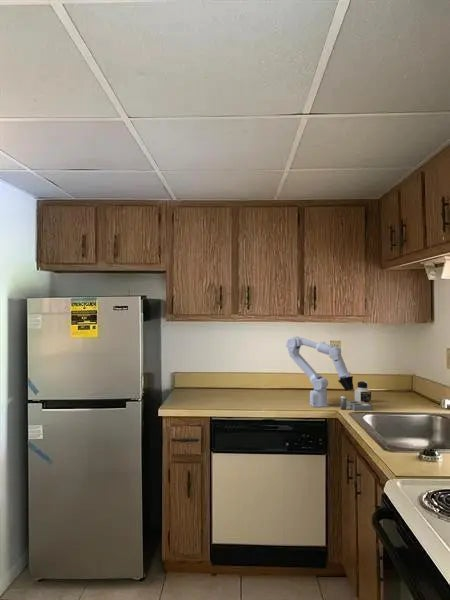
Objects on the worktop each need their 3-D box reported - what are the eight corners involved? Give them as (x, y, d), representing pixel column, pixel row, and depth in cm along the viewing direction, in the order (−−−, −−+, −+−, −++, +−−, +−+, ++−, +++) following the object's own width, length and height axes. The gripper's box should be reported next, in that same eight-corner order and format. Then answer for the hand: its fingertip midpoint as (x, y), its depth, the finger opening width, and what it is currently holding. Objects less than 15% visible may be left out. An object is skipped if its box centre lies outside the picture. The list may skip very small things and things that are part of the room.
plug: (341, 409, 271) (341, 397, 271) (340, 408, 274) (340, 396, 274) (347, 409, 272) (347, 397, 272) (345, 408, 275) (345, 396, 275)
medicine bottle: (360, 403, 288) (360, 383, 288) (354, 401, 295) (354, 381, 295) (371, 402, 290) (371, 382, 290) (364, 400, 297) (364, 380, 297)
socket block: (354, 410, 269) (354, 406, 269) (346, 405, 282) (346, 401, 282) (371, 410, 270) (371, 405, 270) (363, 405, 283) (363, 400, 283)
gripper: (351, 363, 270) (360, 386, 268) (343, 365, 284) (352, 388, 282) (339, 367, 269) (348, 391, 267) (332, 369, 283) (341, 392, 281)
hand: (349, 390), depth 274 cm, fingers open, 7 cm apart
